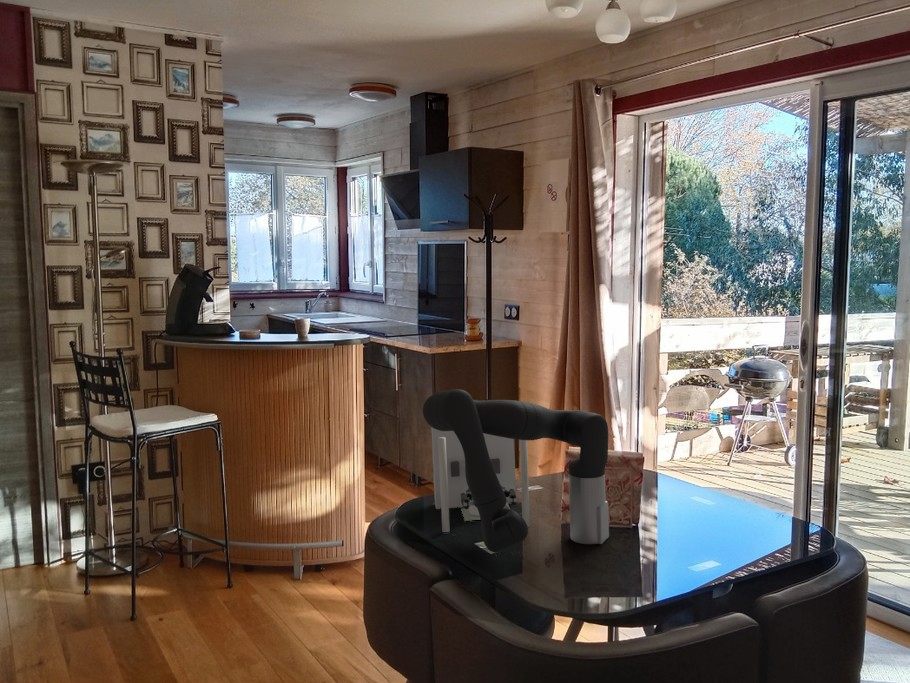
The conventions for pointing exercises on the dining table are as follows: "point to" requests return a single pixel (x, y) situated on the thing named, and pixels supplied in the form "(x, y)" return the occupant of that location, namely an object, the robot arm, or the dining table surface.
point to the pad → (469, 515)
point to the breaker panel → (457, 484)
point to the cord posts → (445, 483)
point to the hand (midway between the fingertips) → (484, 490)
